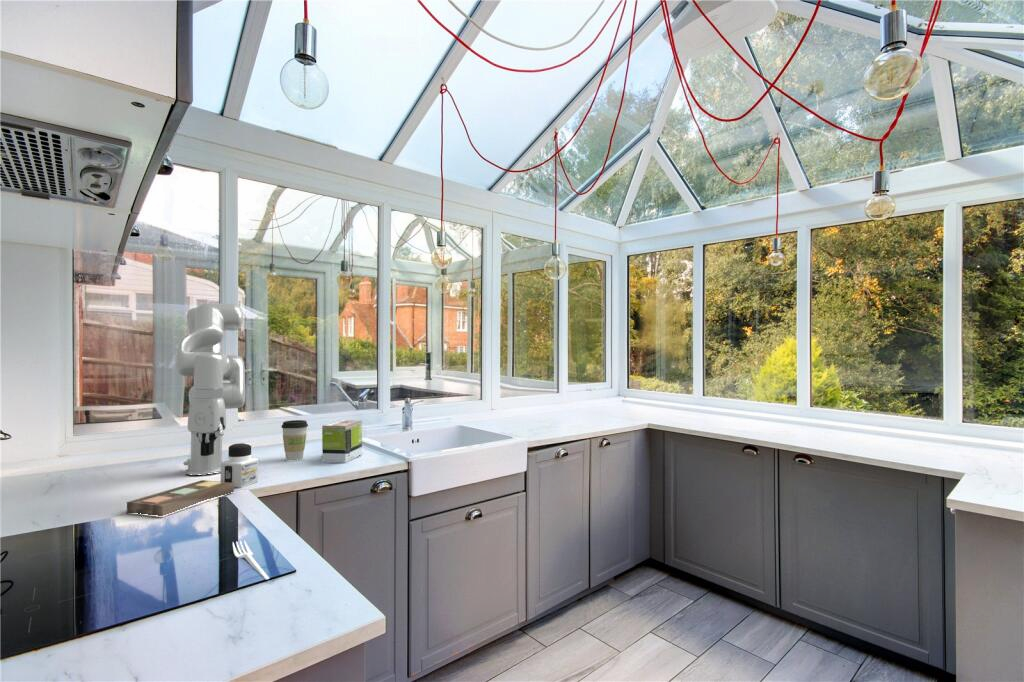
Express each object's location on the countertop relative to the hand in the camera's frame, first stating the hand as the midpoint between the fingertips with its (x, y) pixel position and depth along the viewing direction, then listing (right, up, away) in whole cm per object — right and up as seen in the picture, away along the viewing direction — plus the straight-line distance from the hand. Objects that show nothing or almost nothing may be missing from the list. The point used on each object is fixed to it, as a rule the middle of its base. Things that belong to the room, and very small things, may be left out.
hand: (207, 454), depth 147 cm
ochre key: (+1, -12, -1) cm, 12 cm away
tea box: (+24, -13, +49) cm, 56 cm away
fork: (+39, -12, -48) cm, 63 cm away
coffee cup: (+5, -13, +48) cm, 50 cm away
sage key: (-1, -11, -8) cm, 14 cm away
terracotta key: (-3, -11, -16) cm, 20 cm away
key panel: (-1, -12, -8) cm, 14 cm away
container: (+4, -12, +11) cm, 17 cm away
